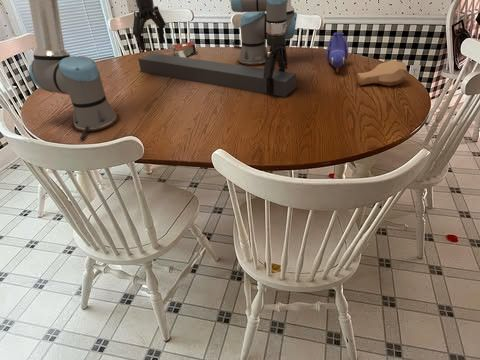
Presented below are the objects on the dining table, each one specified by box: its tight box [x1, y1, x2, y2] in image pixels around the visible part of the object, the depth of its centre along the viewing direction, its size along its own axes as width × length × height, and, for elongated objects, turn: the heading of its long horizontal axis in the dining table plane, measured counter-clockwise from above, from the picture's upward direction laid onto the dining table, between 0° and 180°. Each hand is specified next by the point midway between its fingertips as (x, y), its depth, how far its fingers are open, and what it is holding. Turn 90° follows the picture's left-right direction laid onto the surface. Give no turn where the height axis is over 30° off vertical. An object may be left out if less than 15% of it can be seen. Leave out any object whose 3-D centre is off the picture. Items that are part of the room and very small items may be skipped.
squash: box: [356, 59, 408, 87], centre depth 147 cm, size 11×20×9 cm, turn 92°
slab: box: [137, 52, 297, 98], centre depth 162 cm, size 79×10×6 cm, turn 59°
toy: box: [326, 31, 349, 74], centre depth 163 cm, size 10×17×25 cm
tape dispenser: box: [170, 41, 197, 58], centre depth 192 cm, size 18×5×20 cm
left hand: (153, 46), depth 171 cm, fingers open, 13 cm apart
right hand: (275, 88), depth 149 cm, fingers closed on slab, 10 cm apart
